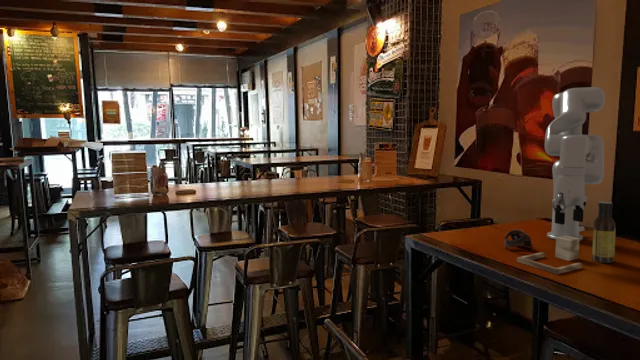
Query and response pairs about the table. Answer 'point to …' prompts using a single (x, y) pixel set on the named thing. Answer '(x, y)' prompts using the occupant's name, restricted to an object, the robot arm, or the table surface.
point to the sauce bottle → (604, 234)
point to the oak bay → (559, 270)
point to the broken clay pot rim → (517, 239)
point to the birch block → (567, 248)
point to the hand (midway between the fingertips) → (568, 222)
